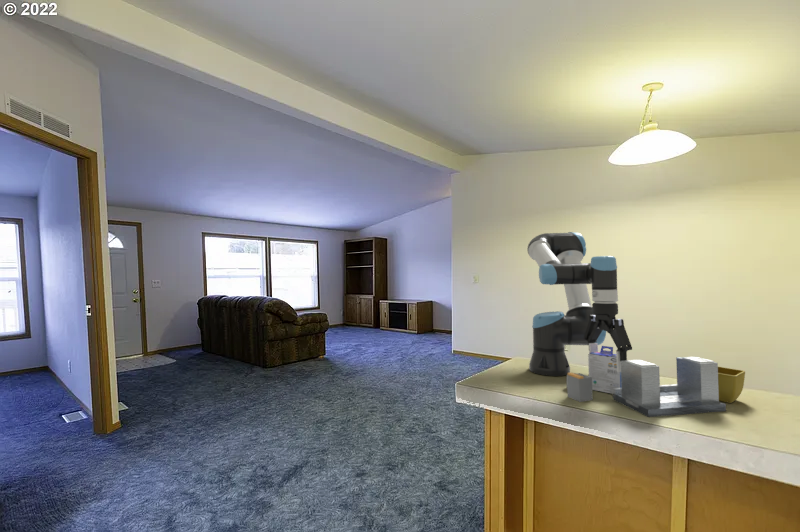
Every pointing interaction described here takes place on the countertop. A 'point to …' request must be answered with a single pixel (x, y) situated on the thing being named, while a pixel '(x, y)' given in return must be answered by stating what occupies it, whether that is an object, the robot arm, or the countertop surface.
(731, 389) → the flower pot
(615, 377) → the ink cartridge box
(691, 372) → the rail board
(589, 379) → the block
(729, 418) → the countertop surface
